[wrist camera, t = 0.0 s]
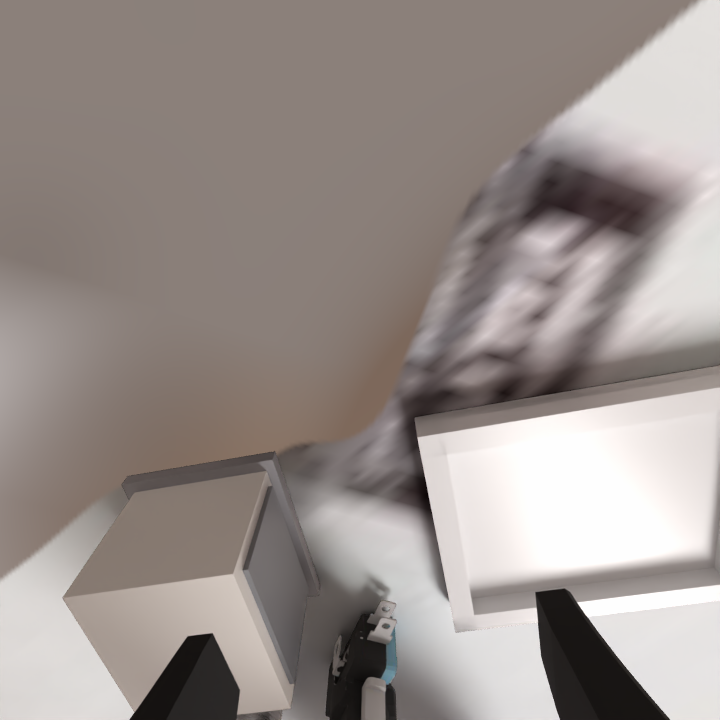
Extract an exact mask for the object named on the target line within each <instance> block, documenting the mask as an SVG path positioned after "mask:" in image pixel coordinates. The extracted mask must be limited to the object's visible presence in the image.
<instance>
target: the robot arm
mask: <svg viewBox="0 0 720 720" xmlns="http://www.w3.org/2000/svg"><path fill="white" fill-rule="evenodd" d="M535 596H536V606H537V617H538V628H539V638H540V649H541V657H542V661H543V664H544V668H545V671H546V675H547V678H548V682H549V685H550V689H551V692H552V695H553V699H554V702H555V706H556V709H557V712H558V715H559V718H560V720H670V719H669V718H668V717H667V716H666V714H665V713H664V712H663V711H662V710H661V709H660V708H659V706H658V705H657V704H656V703H655V702H654V701H653V699H652V698H651V697H650V696H649V695H648V693H647V692H646V691H645V690H644V689H643V687H642V686H641V685H640V684H639V683H638V682H637V680H636V679H635V678H634V677H633V676H632V674H631V673H630V672H629V671H628V670H627V668H626V667H625V666H624V665H623V663H622V662H621V661H620V660H619V658H618V657H617V656H616V655H615V653H614V652H613V651H612V649H611V648H610V647H609V646H608V644H607V643H606V642H605V640H604V639H603V638H602V636H601V635H600V634H599V632H598V631H597V630H596V628H595V627H594V626H593V624H592V623H591V622H590V620H589V619H588V617H587V616H586V615H585V613H584V612H583V610H582V609H581V607H580V606H579V604H578V603H577V601H576V600H575V598H574V597H573V595H572V594H571V592H570V591H568V590H567V589H565V588H563V589H555V590H547V591H539V592H535ZM239 696H240V689H239V687H238V685H237V683H236V681H235V678H234V676H233V674H232V672H231V670H230V668H229V666H228V664H227V662H226V660H225V658H224V656H223V653H222V651H221V649H220V647H219V645H218V643H217V641H216V639H215V637H214V635H213V633H209V634H201V635H193V636H187V638H186V639H185V640H184V642H183V643H182V645H181V646H180V647H179V649H178V650H177V652H176V653H175V655H174V656H173V658H172V659H171V660H170V662H169V663H168V665H167V666H166V668H165V669H164V671H163V672H162V674H161V675H160V677H159V678H158V679H157V681H156V682H155V684H154V685H153V687H152V688H151V690H150V691H149V693H148V694H147V695H146V697H145V698H144V700H143V701H142V703H141V704H140V706H139V707H138V708H137V710H136V711H135V713H134V714H133V715H132V717H131V718H130V720H236V719H237V711H238V703H239Z"/></svg>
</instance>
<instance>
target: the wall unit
mask: <svg viewBox="0 0 720 720" xmlns="http://www.w3.org/2000/svg"><path fill="white" fill-rule="evenodd" d="M122 487H123V489H124V491H125V493H126V495H127V497H128V499H129V501H128V503H127V504H126V506H125V507H124V509H123V510H122V511H121V513H120V514H119V516H118V517H117V519H116V520H115V522H114V523H113V525H112V526H111V528H110V529H109V530H108V532H107V533H106V535H105V536H104V538H103V539H102V541H101V542H100V544H99V545H98V547H97V548H96V550H95V551H94V552H93V554H92V555H91V557H90V558H89V560H88V561H87V563H86V564H85V566H84V567H83V569H82V570H81V571H80V573H79V574H78V576H77V577H76V579H75V580H74V582H73V583H72V585H71V586H70V588H69V589H68V590H67V592H66V593H65V595H64V596H63V600H64V602H65V603H66V605H67V606H68V608H69V609H70V611H71V613H72V614H73V616H74V617H75V619H76V621H77V622H78V624H79V625H80V627H81V628H82V630H83V632H84V633H85V635H86V636H87V638H88V639H89V641H90V643H91V644H92V646H93V647H94V649H95V651H96V652H97V654H98V655H99V657H100V658H101V660H102V662H103V663H104V665H105V666H106V668H107V669H108V671H109V673H110V674H111V676H112V677H113V679H114V681H115V682H116V684H117V685H118V687H119V688H120V690H121V692H122V693H123V695H124V696H125V698H126V700H127V701H128V703H129V704H130V706H131V707H132V709H133V711H134V712H135V711H136V710H137V708H138V707H139V706H140V704H141V703H142V701H143V700H144V698H145V697H146V695H147V694H148V693H149V691H150V690H151V688H152V687H153V685H154V684H155V682H156V681H157V679H158V678H159V677H160V675H161V674H162V672H163V671H164V669H165V668H166V666H167V665H168V663H169V662H170V660H171V659H172V658H173V656H174V655H175V653H176V652H177V650H178V649H179V647H180V646H181V645H182V643H183V642H184V640H185V639H186V638H187V636H193V635H201V634H209V633H213V635H214V637H215V639H216V641H217V643H218V645H219V647H220V649H221V651H222V653H223V656H224V658H225V660H226V662H227V664H228V666H229V668H230V670H231V672H232V674H233V676H234V678H235V681H236V683H237V685H238V687H239V689H240V696H239V703H238V711H237V715H238V714H248V713H257V712H266V711H275V710H284V709H291V704H292V697H293V690H294V684H295V679H296V672H297V665H298V658H299V651H300V644H301V638H302V631H303V624H304V617H305V610H306V603H307V597H313V596H319V591H320V583H319V580H318V577H317V574H316V572H315V569H314V566H313V563H312V560H311V557H310V554H309V551H308V548H307V545H306V542H305V539H304V536H303V533H302V530H301V527H300V524H299V521H298V518H297V515H296V512H295V509H294V506H293V503H292V500H291V497H290V494H289V491H288V488H287V485H286V482H285V479H284V476H283V473H282V470H281V467H280V464H279V461H278V458H277V455H276V453H275V451H274V452H268V453H263V454H256V455H251V456H245V457H239V458H233V459H227V460H221V461H215V462H209V463H203V464H197V465H191V466H185V467H180V468H173V469H168V470H161V471H155V472H150V473H143V474H137V475H131V476H128V477H127V478H126V479H125V480H124V482H123V483H122Z"/></svg>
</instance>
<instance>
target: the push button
mask: <svg viewBox="0 0 720 720" xmlns="http://www.w3.org/2000/svg"><path fill="white" fill-rule="evenodd" d="M383 607H389V608H390V609H389V610H388V611H383V610H382V608H383ZM395 607H396V604H395V603H393V602H390V601H386V600H381V601H380V603H379V605H378V607H377V609H376V611H375V613H374V614H371V615H366V614H362V615H361V617H360V619H359V621H358V623H357V625H356V628H355V630H354V632H353V634H352V636H351V638H350V640H349V642H348V644H347V646H346V648H345V650H344V652H343V654H342V657H341V659H339V658H340V655H341V640H342V636H341V635H339V637H338V640H337V642H336V644H335V648H334V657H333V660H332V662H331V664H330V668H329V678H328V690H327V701H326V716H328V717H330V720H396V694H395V689H394V688H393V686H392V685H391V682H392V681H393V679H394V677H395V675H396V670H397V657H396V639H395V625H396V624H397V621H396V620H395V619H392V618H390V617H391V615H392V613H393V611H394V609H395ZM337 648H338V651H337Z"/></svg>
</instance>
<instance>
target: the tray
mask: <svg viewBox="0 0 720 720" xmlns="http://www.w3.org/2000/svg"><path fill="white" fill-rule="evenodd" d="M414 418H415V425H416V432H417V438H418V443H419V449H420V454H421V459H422V464H423V469H424V474H425V479H426V484H427V489H428V495H429V500H430V505H431V510H432V515H433V520H434V525H435V530H436V535H437V541H438V546H439V551H440V556H441V561H442V566H443V571H444V576H445V581H446V587H447V592H448V597H449V602H450V607H451V612H452V617H453V622H454V628H455V633H457V632H465V631H474V630H482V629H490V628H498V627H507V626H515V625H523V624H531V623H538V617H537V606H536V596H535V592H539V591H547V590H555V589H563V588H565V589H567V590H568V591H570V592H571V594H572V595H573V597H574V598H575V600H576V601H577V603H578V604H579V606H580V607H581V609H582V610H583V612H584V613H585V615H586V616H587V617H589V616H597V615H605V614H614V613H622V612H630V611H638V610H647V609H655V608H663V607H671V606H679V605H688V604H696V603H704V602H712V601H720V365H719V366H713V367H707V368H702V369H696V370H690V371H684V372H678V373H672V374H666V375H660V376H655V377H649V378H643V379H637V380H631V381H625V382H619V383H613V384H608V385H602V386H596V387H590V388H584V389H578V390H572V391H566V392H561V393H555V394H549V395H543V396H537V397H531V398H525V399H519V400H514V401H508V402H502V403H496V404H490V405H484V406H478V407H472V408H467V409H461V410H455V411H449V412H443V413H437V414H431V415H425V416H420V417H414Z"/></svg>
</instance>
